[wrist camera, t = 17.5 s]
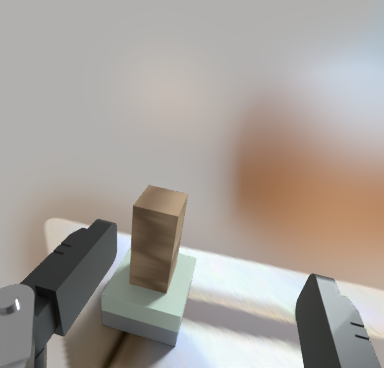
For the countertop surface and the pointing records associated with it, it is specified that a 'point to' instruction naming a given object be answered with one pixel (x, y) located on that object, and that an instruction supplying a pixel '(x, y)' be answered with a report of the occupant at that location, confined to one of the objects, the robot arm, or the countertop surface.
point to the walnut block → (156, 237)
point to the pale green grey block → (147, 303)
